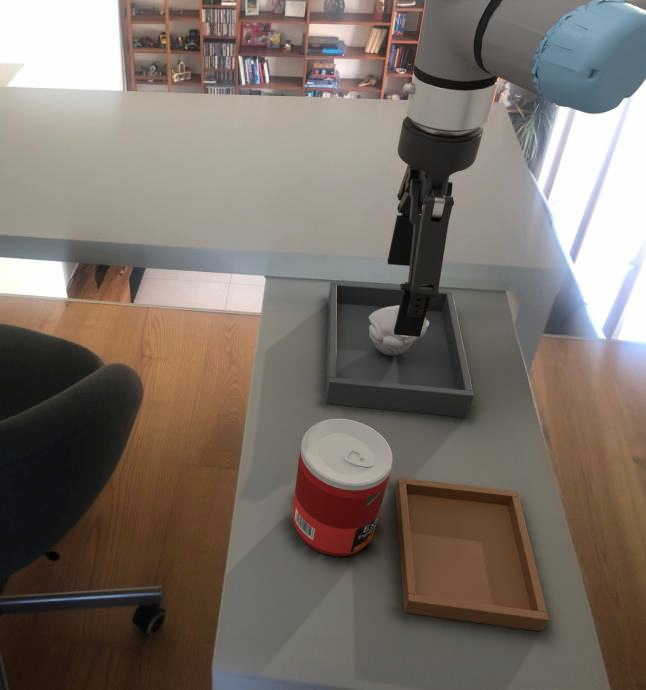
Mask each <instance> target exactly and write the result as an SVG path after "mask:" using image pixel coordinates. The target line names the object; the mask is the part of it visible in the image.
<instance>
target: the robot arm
mask: <svg viewBox="0 0 646 690" xmlns="http://www.w3.org/2000/svg"><path fill="white" fill-rule="evenodd" d="M418 37H419V38H418V43H417V48H416V53H415V59H414V64H413V69H412V71H413V72H412V76H411V79H412V82H408V83H407V82H406V83H405V84H404V85H403V88H402V93H403V94H405V95H408V97H407V102H406V106H405V114H406V116H405V117H404V118H403V120H402V124H401V128H400V133H399V134H400V135H399V140H398V145H397V155H398V157H399V158H400V160H401V161H403V163H404V164H406V169H405V172H404V175H403V178H402V180H401V184H400V187H399V190H398V193H397V195H396V198H397V201H398V204H397V207H396V210H397V213H398V214H397V215H396V218H395V222H394V227H393V231H392V232H393V234H392V237H391V242H390V247H389V252H388V256H387V265H389V266H390V265H391V266H405V267H409V268H408V269H409V270H408V279H407V281H405V282H403V283H400V285H399V287H400V290H403V294H402V298H401V302H400V306H399V311H398V315H397V319H396V323H395V328H394V335H404V336H415V337H420V334H421V331H422V327H423V323H424V320H425V316H426V312H427V308H428V305H429V301H430V297H433V298H436V297H437V296H438V294H439V290H440V289H439V288H440V281H441V276H442V269H443V262H444V256H445V249H446V244H447V243H446V242H447V237H448V229H449V223H450V219H451V214H452V210H453V207H454V204H455V200H454V196H452V194H453V186H454V185H453V181H449V178H450V176H452V175H453V174H455V173H458V172H462V171H465V170H467V169H469V168H470V167H472V165H473V164H474V163H475V161H476V159H477V156H478V152H479V148H480V145H481V142H482V138H483V134H484V127H483V125H484V124H485V123H487V121H488V118H489V115H490V112H491V108H492V103H493V100H494V96H495V92H496V89H497V84H498V82H499V79H501V80H504V81H506V82H507V83H510V84H513V85H515V86H517V87H519V88H522V89H523V90H526V91H528V92H530V93H532V94H535V95H537V96H538V97H541V98H542V99H544V100H546V101H547V102H548V103H550V104H555V105H556V106H558V107H561V108H569V109H572V110H574V111H575V110H576V111H579V112H581V113H584V114H588V115H589V114H590V115H599V114H604V113H608V112H610V111H613V110H615V109H617V107H619V106H620V104H622V102H623V101H624V99H629V98H630V97H632V96H633V95H634V94H635V93H636V92H637V91H638V90H639V89H640V88H641V86H642V85H643V84H644V83H645V81H646V0H425V4H424V11H423V17H422V22H421V26H420V33H419V36H418Z"/></svg>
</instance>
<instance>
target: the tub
mask: <svg viewBox="0 0 646 690" xmlns="http://www.w3.org/2000/svg"><path fill="white" fill-rule="evenodd" d="M402 294H403V290H400V286H396V285H395V286H394V285H385V284H383V285H382V284H371V283H369V284H368V283H359V282H358V283H357V282H344V281H330V284H329V292H328V298H327V325H326V326H327V328H326V330H327V331H326V332H327V333H326V334H327V335H326V378H325V379H326V382H325V383H326V384H325V385H326V386H325V387H326V388H325V404H329V405H337V406H346V407H347V406H348V407H358V408H368V409H377V410H387V411H396V412H406V413H407V412H408V413H415V414H427V415H436V416H445V417H457V418H464V419H465V418H467V417H468V414H469V411H470V408H471V405H472V402H473V399H474V396H475V394H474V390H473V386H472V380H471V376H470V371H469V366H468V360H467V356H466V352H465V346H464V342H463V336H462V332H461V328H460V327H461V326H460V322H459V317H458V314H457V308H456V303H455V298H454V294H453V291H452V290H449V289H448V290H446V289H439V294H438V296H437V297H436V298H433V297H430V301H429V305H428V308H427V312H426V316H425V318H426V320H428V321H429V325H428V327H427V330H426V332H425V334H424V335H423V336H421V337H420V338H419V339H418V340H416V341H414V342H412V344H411V346H410V348H409V349H408V350H407V351H405V352H404V353H402V354H399V355H394V356H391V355H386V354H383V353H381V352H380V351H378V350H377V349H376V347H375V346H374V344H373V342H372V339H371V338H370V336H369V327H370V325H371V322H370V321H369V316H370V315H371V314H372V313H373V312H375V311H377V310H379V309H382V308H385V307H391V306H396V305H397V306H398V305H400V302H401V298H402Z"/></svg>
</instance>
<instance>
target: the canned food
mask: <svg viewBox="0 0 646 690" xmlns="http://www.w3.org/2000/svg"><path fill="white" fill-rule="evenodd" d="M393 458H394V457H393V453H392V448H391V447H390V444H389V443H388V442H387V440H386V439H385V438H384V437H383V435H381V434H380V433H379V432H378V431H377V430H375V429H374V428H372V427H370V426H369V425H367V424H366V423H365V424H364V423H362V422H359V421H356V420H353V419H347V418H330V419H325V420H321V421H319V422H317V423H315V424H313V425H312V426H311V427H309V428H308V430H306V432H305V433H304V435H303V437H302V440H301V444H300V447H299V455H298V463H297V470H296V479H295V487H294V496H293V502H292V503H293V504H292V511H291V513H292V521H293V525H294V527H295V530H296V532H297V534H298V536H299V537H300V538H301V540H302V541H303V542H304V543H305V544H306V545H308V546H309V547H310V548H312V549H313V550H315V551H317V552H319V553H322V554H325V555H328V556H332V557H333V556H334V557H346V556H351V555H355V554H356V553H358V552H360V551H361V550H363V549H364V548H365V547H366V546H367V545H368V544H369V543H370V542H371V540H372V539H373V536H374V534H375V532H376V528H377V525H378V521H379V517H380V513H381V509H382V506H383V502H384V499H385V495H386V491H387V488H388V484H389V481H390V476H391V472H392V467H393Z"/></svg>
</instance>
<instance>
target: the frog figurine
mask: <svg viewBox="0 0 646 690" xmlns="http://www.w3.org/2000/svg"><path fill="white" fill-rule="evenodd" d="M399 306H400V305H398V306H397V305H396V306H391V307H385V308H382V309H379V310H377V311H375V312H373V313H372V314H371V315H370V316H369V321H370V322H371V325H370V327H369V336H370V338H371V339H372V342H373V344H374V346H375V347H376V349H377V350H378V351H380V352H381V353H383V354H386V355H391V356H394V355H399V354H402V353H404V352H405V351H407V350H408V349H409V348H410V346H411V344H412V342H414V341H416V340H418V339H419V338H420V337H421V336H423V335H424V334H425V332H426V330H427V327H428V325H429V321H428V320H426V318H425V320H424V323H423V327H422V331H421V334H420V337H415V336H404V335H394V328H395V323H396V319H397V315H398V311H399Z"/></svg>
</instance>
